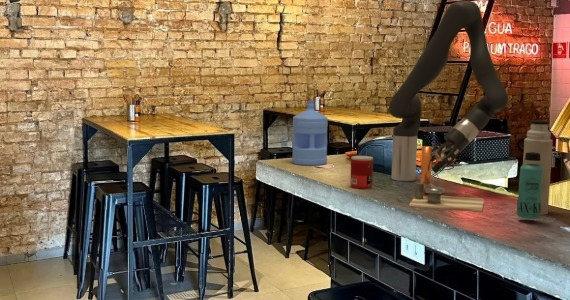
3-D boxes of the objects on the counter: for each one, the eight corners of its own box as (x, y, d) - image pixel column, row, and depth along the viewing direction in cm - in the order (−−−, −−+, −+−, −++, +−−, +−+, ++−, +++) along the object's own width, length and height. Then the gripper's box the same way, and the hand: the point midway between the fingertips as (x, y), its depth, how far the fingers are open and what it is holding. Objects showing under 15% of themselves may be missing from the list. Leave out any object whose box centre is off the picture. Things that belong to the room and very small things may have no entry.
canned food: (371, 189, 231) (372, 159, 230) (349, 188, 233) (349, 158, 231) (373, 185, 238) (373, 156, 237) (351, 184, 240) (352, 155, 239)
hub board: (416, 195, 221) (417, 179, 221) (484, 200, 214) (484, 183, 214) (409, 206, 204) (409, 188, 204) (482, 211, 197) (483, 193, 197)
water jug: (290, 160, 298) (290, 99, 295) (323, 160, 300) (325, 100, 296) (294, 166, 283) (295, 101, 279) (329, 165, 285) (331, 102, 281)
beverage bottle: (512, 218, 189) (516, 150, 186) (534, 218, 189) (538, 150, 187) (522, 224, 182) (526, 154, 180) (544, 224, 183) (549, 154, 180)
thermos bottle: (519, 208, 203) (525, 119, 200) (547, 210, 201) (553, 120, 197) (520, 213, 196) (525, 121, 192) (548, 215, 193) (554, 122, 190)
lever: (445, 203, 205) (448, 152, 203) (427, 202, 205) (429, 152, 203) (432, 192, 221) (434, 146, 219) (415, 192, 221) (417, 146, 219)
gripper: (445, 125, 226) (413, 158, 225) (464, 129, 212) (429, 164, 211) (459, 140, 227) (427, 173, 227) (478, 145, 213) (444, 180, 213)
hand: (428, 169), depth 219 cm, fingers open, 8 cm apart
